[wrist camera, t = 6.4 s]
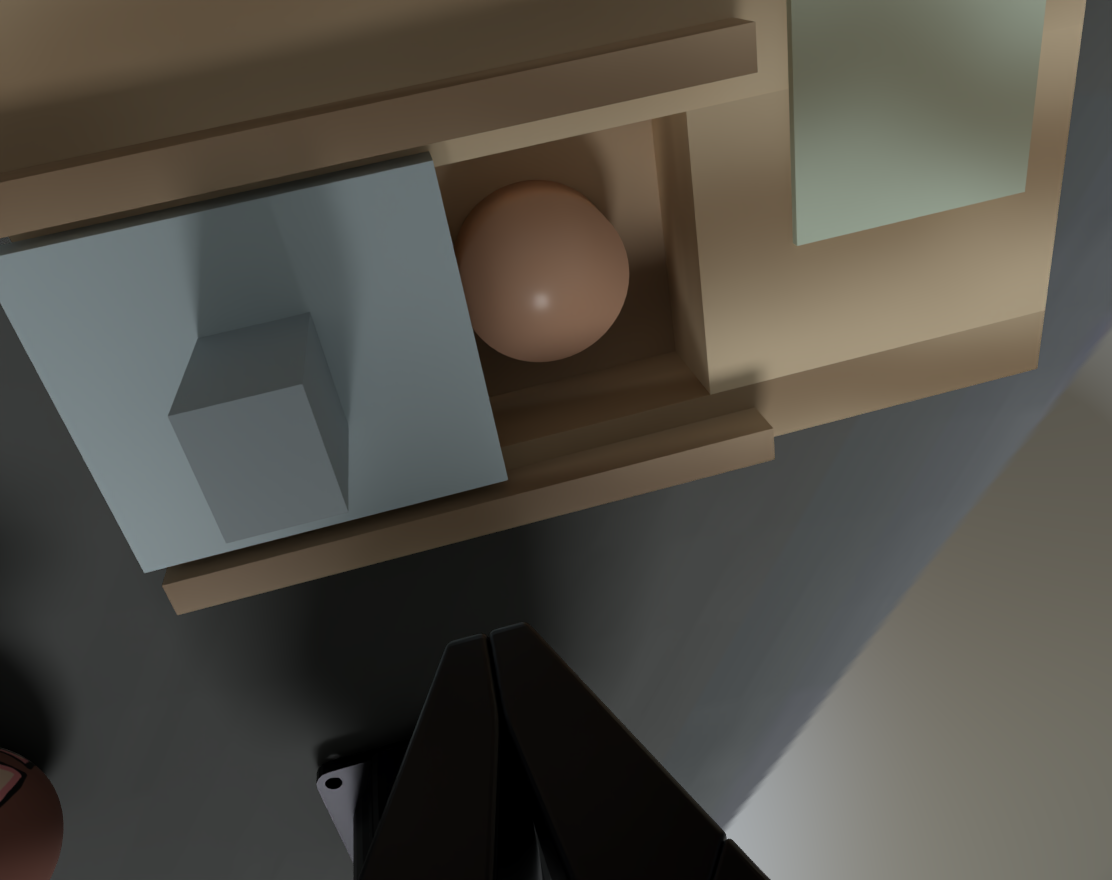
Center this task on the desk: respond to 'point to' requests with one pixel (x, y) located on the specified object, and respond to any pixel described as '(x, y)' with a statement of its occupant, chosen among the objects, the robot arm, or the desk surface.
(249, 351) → the lid
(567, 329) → the ball
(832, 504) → the desk surface
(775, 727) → the desk surface
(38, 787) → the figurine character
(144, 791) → the desk surface
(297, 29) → the puzzle board
